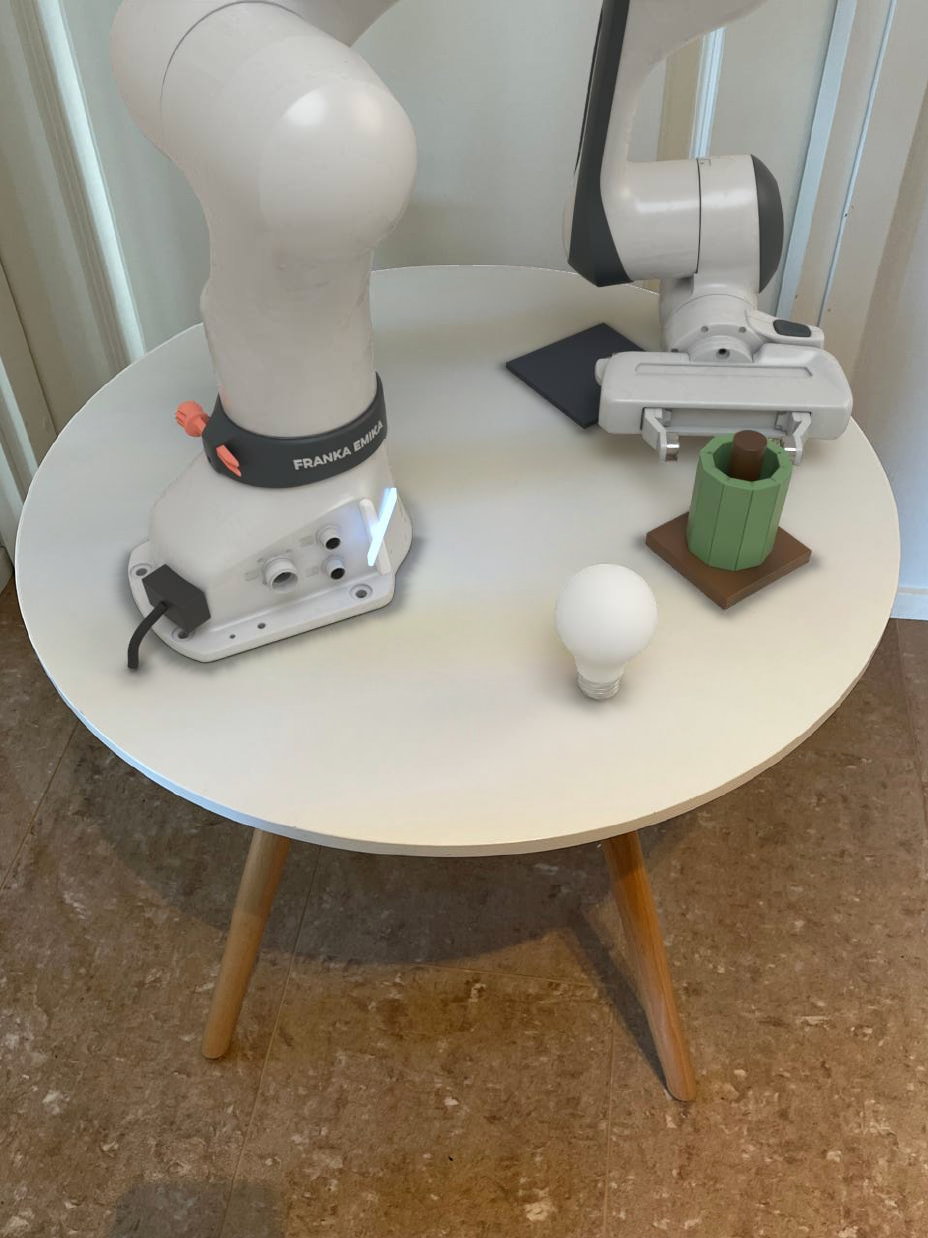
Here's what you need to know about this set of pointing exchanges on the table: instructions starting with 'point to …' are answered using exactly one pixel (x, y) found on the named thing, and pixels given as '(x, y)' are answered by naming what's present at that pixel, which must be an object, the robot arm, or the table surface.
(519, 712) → the table surface
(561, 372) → the mat
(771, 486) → the green tube
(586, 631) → the light bulb
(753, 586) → the peg stand
